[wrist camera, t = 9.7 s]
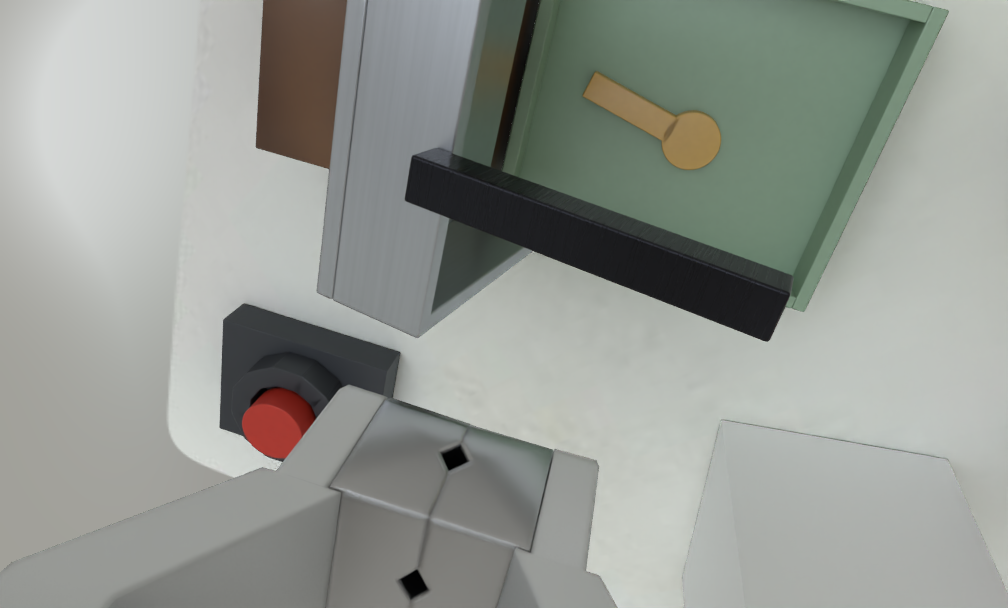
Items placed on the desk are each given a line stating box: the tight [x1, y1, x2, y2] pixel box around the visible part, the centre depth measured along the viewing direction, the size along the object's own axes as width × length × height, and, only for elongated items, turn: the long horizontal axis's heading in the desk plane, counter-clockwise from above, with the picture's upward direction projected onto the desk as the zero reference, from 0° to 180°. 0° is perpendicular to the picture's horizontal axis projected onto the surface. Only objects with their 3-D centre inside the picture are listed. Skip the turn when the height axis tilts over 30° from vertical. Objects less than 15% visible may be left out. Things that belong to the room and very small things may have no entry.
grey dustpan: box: [317, 0, 794, 342], centre depth 21 cm, size 11×10×12 cm
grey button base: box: [220, 304, 400, 462], centre depth 42 cm, size 10×8×4 cm
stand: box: [256, 0, 539, 171], centre depth 31 cm, size 10×10×6 cm
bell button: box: [242, 388, 316, 458], centre depth 39 cm, size 4×4×2 cm
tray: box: [502, 0, 949, 312], centre depth 31 cm, size 15×13×2 cm
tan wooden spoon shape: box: [582, 71, 721, 170], centre depth 32 cm, size 7×3×1 cm, turn 64°
